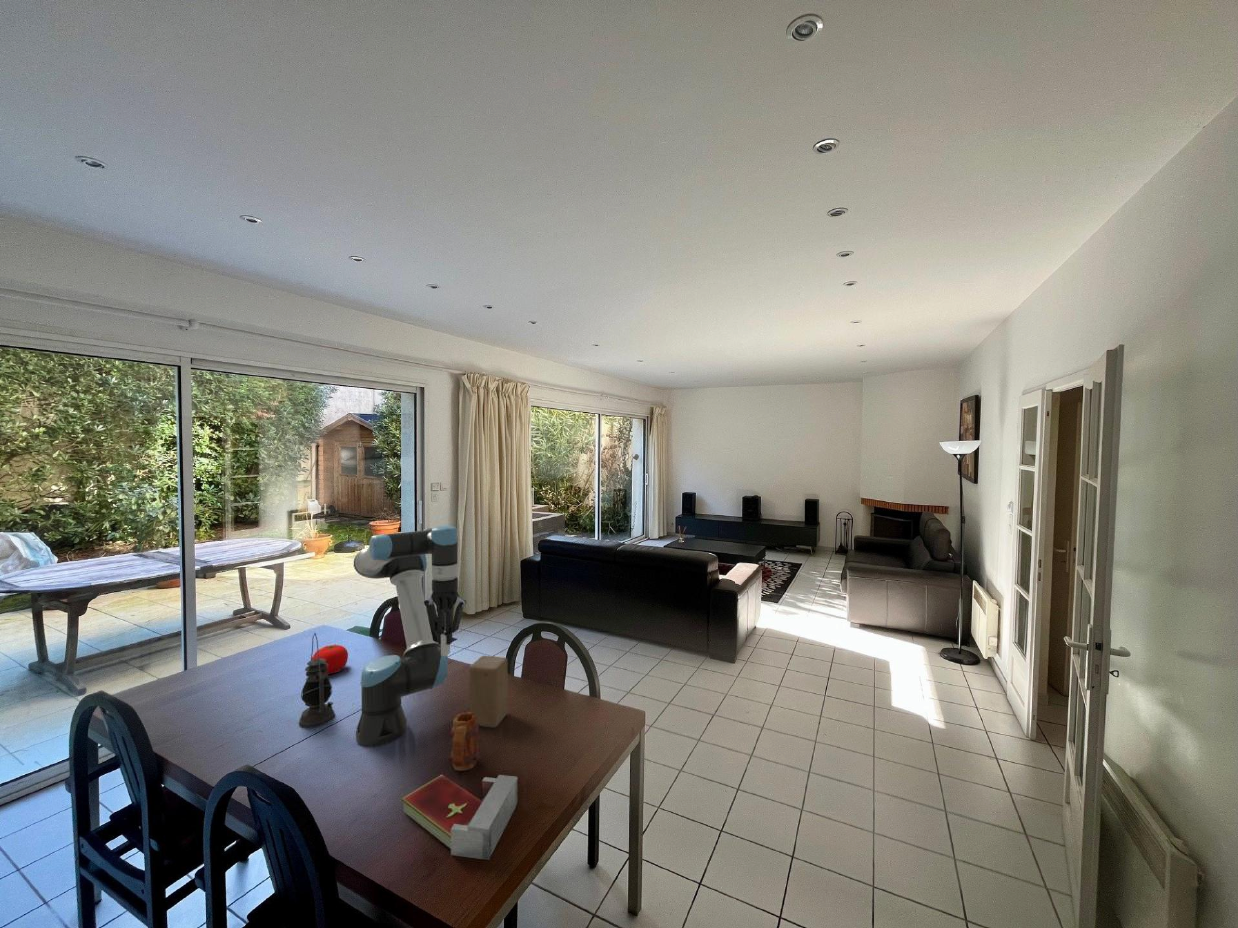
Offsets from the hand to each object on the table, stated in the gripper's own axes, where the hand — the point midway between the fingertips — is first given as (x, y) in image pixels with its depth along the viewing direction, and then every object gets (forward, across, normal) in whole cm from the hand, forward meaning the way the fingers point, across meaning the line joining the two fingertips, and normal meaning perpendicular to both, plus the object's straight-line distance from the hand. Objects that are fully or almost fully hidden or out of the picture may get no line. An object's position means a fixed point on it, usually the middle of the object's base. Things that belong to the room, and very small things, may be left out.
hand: (445, 654), depth 151 cm
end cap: (+29, +25, -28) cm, 48 cm away
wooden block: (+30, +6, +18) cm, 35 cm away
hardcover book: (+30, +14, -26) cm, 42 cm away
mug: (+30, +10, -9) cm, 33 cm away
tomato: (+30, -75, +43) cm, 91 cm away
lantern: (+30, -52, +9) cm, 61 cm away
